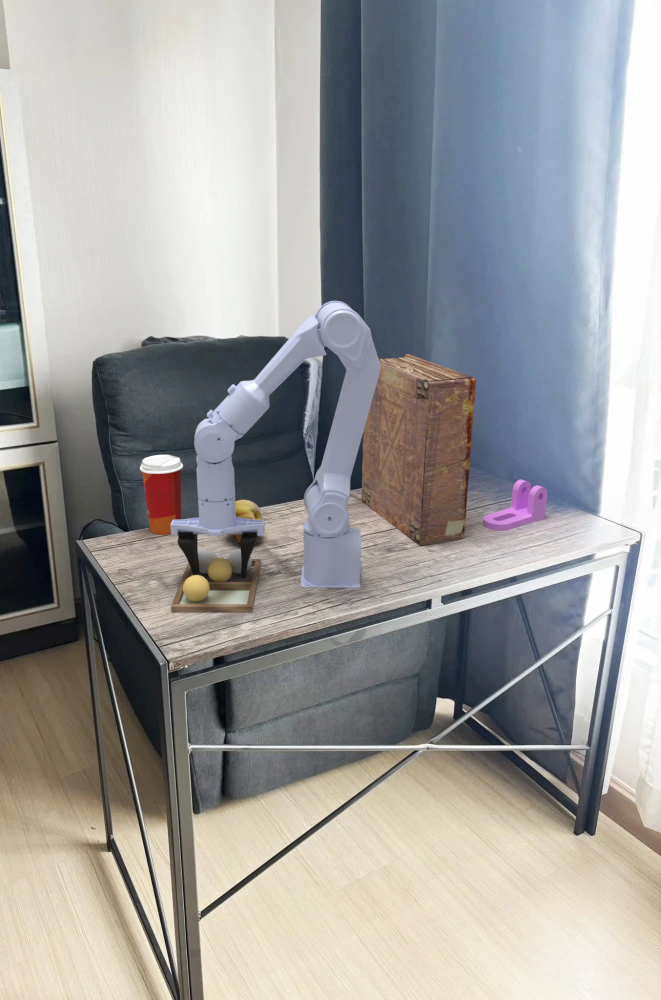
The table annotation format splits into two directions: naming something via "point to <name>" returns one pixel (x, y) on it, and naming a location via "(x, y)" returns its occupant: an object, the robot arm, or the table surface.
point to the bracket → (519, 508)
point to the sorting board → (220, 595)
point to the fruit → (247, 513)
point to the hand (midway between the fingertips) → (220, 575)
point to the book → (419, 448)
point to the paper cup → (162, 491)
